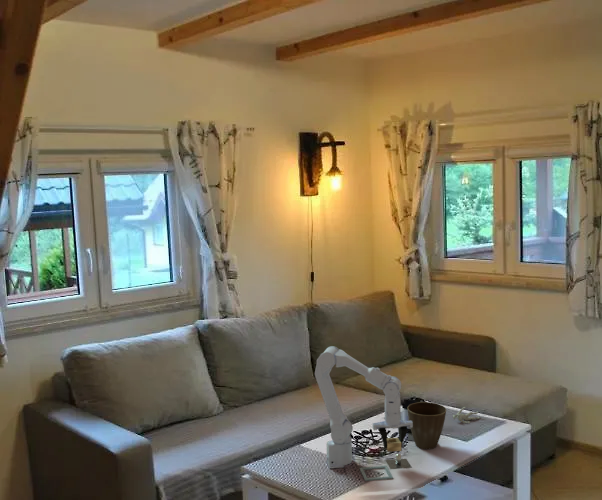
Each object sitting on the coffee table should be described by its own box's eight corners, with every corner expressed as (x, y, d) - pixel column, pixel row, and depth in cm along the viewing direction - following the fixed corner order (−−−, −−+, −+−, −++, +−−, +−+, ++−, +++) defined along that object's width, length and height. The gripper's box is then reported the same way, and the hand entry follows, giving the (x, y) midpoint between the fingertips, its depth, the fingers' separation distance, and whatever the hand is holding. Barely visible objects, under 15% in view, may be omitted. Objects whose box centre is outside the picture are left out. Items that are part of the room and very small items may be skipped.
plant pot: (431, 437, 289) (432, 399, 287) (453, 451, 275) (453, 411, 273) (400, 443, 283) (400, 405, 281) (420, 458, 269) (420, 417, 267)
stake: (390, 471, 258) (390, 459, 258) (385, 462, 266) (385, 451, 266) (411, 470, 259) (411, 458, 259) (406, 461, 267) (406, 449, 267)
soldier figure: (482, 424, 305) (461, 420, 300) (474, 429, 308) (454, 425, 303) (477, 407, 310) (456, 404, 305) (469, 412, 313) (449, 409, 308)
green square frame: (365, 483, 249) (365, 479, 249) (359, 471, 259) (359, 467, 259) (393, 481, 250) (393, 477, 250) (386, 469, 260) (386, 465, 260)
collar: (387, 451, 257) (387, 443, 257) (384, 446, 262) (384, 438, 262) (401, 450, 258) (401, 442, 257) (397, 445, 263) (397, 437, 262)
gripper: (375, 416, 253) (375, 452, 255) (415, 413, 255) (415, 449, 257) (371, 409, 260) (371, 445, 262) (409, 407, 262) (409, 442, 264)
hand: (392, 446), depth 260 cm, fingers closed on collar, 5 cm apart
